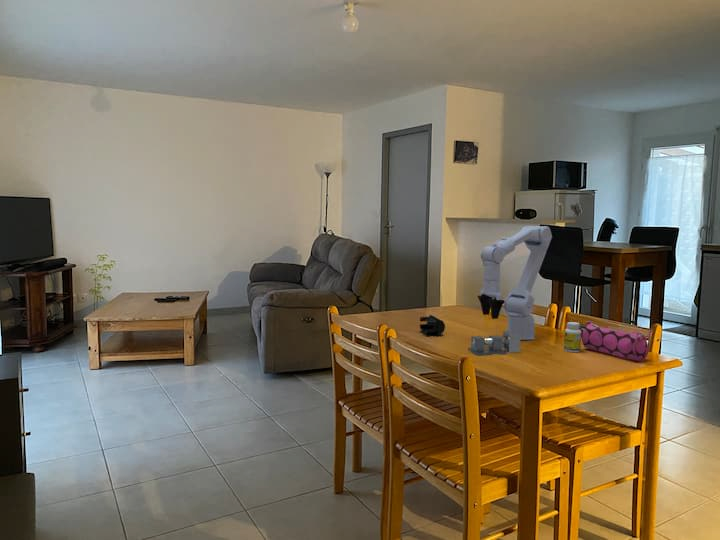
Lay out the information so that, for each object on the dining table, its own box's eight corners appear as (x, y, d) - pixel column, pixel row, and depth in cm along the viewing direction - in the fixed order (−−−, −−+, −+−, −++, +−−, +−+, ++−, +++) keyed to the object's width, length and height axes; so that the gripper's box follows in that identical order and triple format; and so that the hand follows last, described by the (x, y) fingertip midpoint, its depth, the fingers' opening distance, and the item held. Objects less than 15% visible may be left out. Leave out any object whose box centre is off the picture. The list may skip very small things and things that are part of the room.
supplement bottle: (560, 349, 191) (561, 321, 190) (573, 348, 193) (574, 321, 192) (571, 353, 186) (572, 325, 185) (584, 351, 188) (585, 324, 187)
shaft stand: (511, 347, 193) (512, 333, 192) (522, 353, 185) (522, 338, 184) (468, 349, 190) (468, 334, 189) (477, 355, 182) (477, 340, 181)
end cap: (445, 336, 210) (445, 319, 209) (427, 337, 209) (427, 319, 208) (436, 331, 220) (436, 314, 219) (419, 331, 218) (419, 315, 218)
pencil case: (576, 350, 191) (577, 321, 190) (593, 346, 196) (594, 319, 195) (635, 364, 173) (637, 333, 172) (652, 360, 178) (654, 330, 177)
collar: (513, 349, 191) (513, 331, 190) (519, 352, 186) (520, 334, 186) (502, 349, 190) (503, 331, 190) (509, 353, 186) (509, 334, 185)
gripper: (473, 277, 203) (472, 313, 205) (489, 282, 189) (488, 320, 190) (490, 277, 205) (489, 312, 206) (508, 281, 190) (507, 320, 192)
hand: (490, 316), depth 198 cm, fingers open, 7 cm apart
